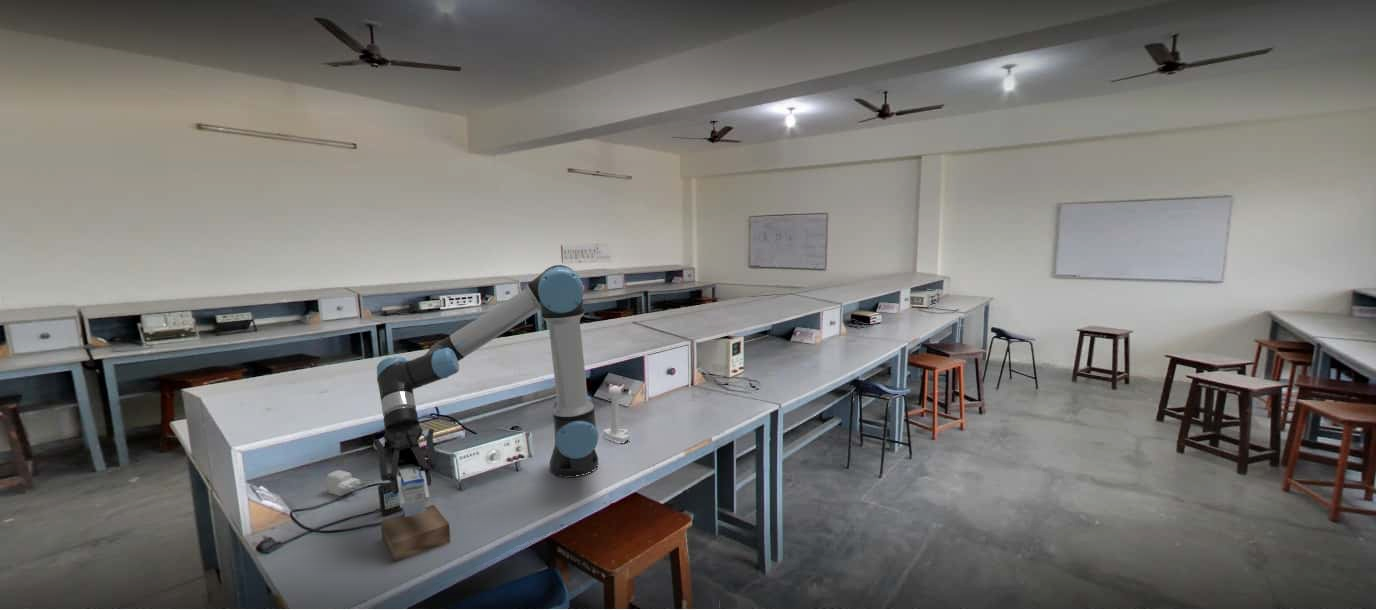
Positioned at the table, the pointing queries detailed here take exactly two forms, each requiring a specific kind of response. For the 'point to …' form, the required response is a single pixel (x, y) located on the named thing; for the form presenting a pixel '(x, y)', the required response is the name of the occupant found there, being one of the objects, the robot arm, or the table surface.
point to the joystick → (615, 418)
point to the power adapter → (341, 483)
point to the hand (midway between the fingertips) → (414, 501)
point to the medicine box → (413, 491)
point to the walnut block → (415, 533)
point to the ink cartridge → (388, 500)
